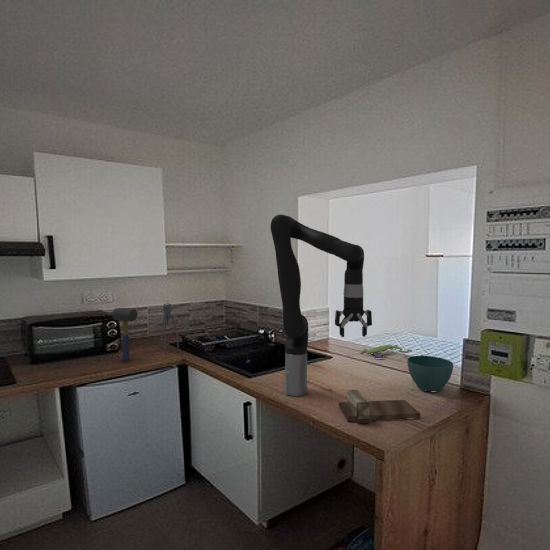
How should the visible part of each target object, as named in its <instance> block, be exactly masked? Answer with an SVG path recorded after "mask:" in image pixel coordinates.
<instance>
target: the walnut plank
mask: <svg viewBox="0 0 550 550" xmlns="http://www.w3.org/2000/svg"><path fill="white" fill-rule="evenodd" d="M367 401H368V403H369V404H370V420H383V421H394V420H393V419H404V420H408V419H407V418H420V419H421V413H420V412H419V411H418V410H417V409H416V408H415V407H414V406H412V405H411V404H410V403H409V402H408V401H407V400H405V399H393V400H390V399H389V400H367ZM338 408H339V410H340V411H342V412H341V413H342V415H343V414H344V415H343V416H344V418H345V417H346V418H345V419H347V420H346V421H347V422H348V421H357V416H356V415H355V413H354V412H353V411H352V409H351V408H350V406H349V405H348V403H347V401H344V402H338Z"/></svg>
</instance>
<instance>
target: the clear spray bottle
mask: <svg viewBox="0 0 550 550" xmlns="http://www.w3.org/2000/svg"><path fill="white" fill-rule="evenodd" d="M162 310H163V311H162V312H163V317H162V324H161V325H162V326H161V337H160V341H161V342H160V349H161V351H164V352H163V354H164V355H166V352H167V351H166V349H167V348H166V347H167V346H166V345H167V343H166V342H167V339H166V337H167V325H169V323H170V322H169V321H170V319H172V323H173V327H174V331H175V332H174V334H175V339H176V346H177V348H176V349H177V351H179V350H180V346H179V338H178V337H179V335H178V330H177V325H176V321H175V317H174V314H172V304H171V303H170V302H165V303H164V304H163V309H162ZM163 338H164V339H163ZM163 348H164V349H163Z"/></svg>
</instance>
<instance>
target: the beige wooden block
mask: <svg viewBox="0 0 550 550" xmlns="http://www.w3.org/2000/svg"><path fill="white" fill-rule="evenodd" d="M346 392H347V393H346V395H347V396H346V397H347V400H346V402H347V403H348V405H349V406H350V408H351V409H352V411H353V412H354V413H355V415H356V416H357V422H356V423H358V424H370V423H371V421H370V404H369V403H368V401H369V400H367V399H366V398H365V396H364V395H363V394H362V393H361V392H360V391H359V389H346Z"/></svg>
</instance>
